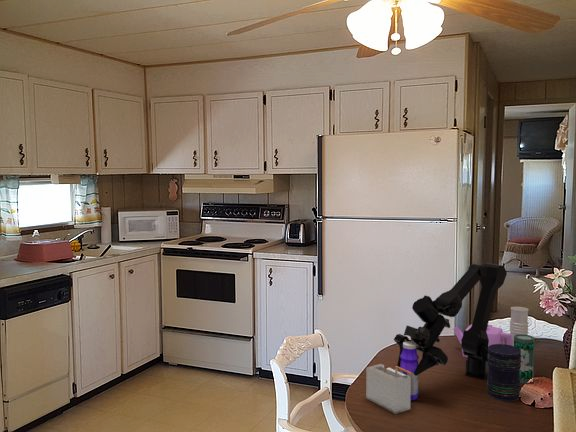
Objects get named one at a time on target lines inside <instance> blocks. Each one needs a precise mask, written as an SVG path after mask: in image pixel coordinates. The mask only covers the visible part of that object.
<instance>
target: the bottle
mask: <svg viewBox="0 0 576 432" xmlns="http://www.w3.org/2000/svg"><path fill="white" fill-rule="evenodd" d="M400 357H401V363H400V368H403V369H405V370H407V371H410V372H412V374H408V373H406V372H404V371H402V370H399V372H400V373H403V374H405V375H409V376H410V377H411V396H410V401H416V400H417V399H418V397H419V375H417V376H415V375H414V372H415V370H416V368H417V366H418V365H419V358H420V357H419V355H418V351H417V350H416V343H415V342H414V341H412V340H410V341H406V342H403V351H402V354H401V355H400Z"/></svg>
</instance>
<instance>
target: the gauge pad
mask: <svg viewBox="0 0 576 432" xmlns="http://www.w3.org/2000/svg"><path fill="white" fill-rule="evenodd" d="M398 370H399V371H398ZM400 370H402V371H404V372H406V373H408V374H412V372H410V371H407V370H405V369H403V368H400V367H398V366H397V365H396V366H395V367H394V369H393V368H392V367H387V368H385V373H387V374H389V375H392V376H394V377H396V378H398V377H401V376H404V375H405V374H403V373H400Z"/></svg>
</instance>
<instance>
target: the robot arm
mask: <svg viewBox="0 0 576 432" xmlns="http://www.w3.org/2000/svg"><path fill="white" fill-rule="evenodd" d="M507 273H508V271H507V270H506V268H505V266H504V265H503V264H495V263H491V262H485V263H484V264H476V263H472V264H470V265H469V266H468V269H467V271H465V273H464V274H463V275H462V276H461V277H460V278H459V280H458V281H457V282H456V283H455V284H454V285H453V286H452V288H450V289H449V290H447V291H445V292H442V293H441V294H440V295H439V296H437V298H435V299H434V300H432V297H430V296H429V295H426V294H425V295H423V297H421V298H418V299H417V300H416V301H414V303H412V307H411V308H412V311H413V313H415V314H416V315H417V317H418V318H419V319H420V321H422V322H423V323H424V324H423V326H419V327H418V328H416V327H413V326H410V325H406V326H405V329H404V333H403V334H401V333H399V334H396V335H395V336H394V338H393V341H394V342H395V343H396V345H398V347H399V354H398V359H397V360H398V361H397V364H396V366H398V367H400V363H401V357H400V355H401V354H402V351H403V342H406V341H411V342H415V343H416V351H417V352H420V353H422V355H421V360H420V361H419V362H418V366H417V368H416V370H415V372H414V375H415V376H417V375H418V376H419V375H421V373H423V372H425V371H427V370H428V369H431V368H432V367H434V366H439V364H440V365H441V366H446V364H447V363H448V360H449V357H448V354H446V353H445V351H444V350H443V349H442V348H440V347H437V346H434V345H435V344H436V343H438V344H439V343H440V341H441V340H440V338H439V337H440V336H441V333H442V332H443V330H444V329H445V328H446V329H450V328H451V324H450V323H451V322H450V319H448V318H447V317H450V318H455V317H456V316H457V315H458V314H459V312H460V310H462V308H463V301H464V299H465V298H466V297H467V296H468V294H469V293H470V292H471V291H472V290H473V288H474V287H475V286H476V285H477V283H478V282H479V283H480V286H481V287H480V292H479V297H478V300H477V303H476V307H475V311H474V315H473V319H472V323H471V324H472V326H471V328H470V329H469V330H468V331H466V329H465V330H463V331H462V333H463V337H462V339H461V341H462V342H461V344H460V346H461V350H462V349H463V353H464V355H467V356H468V358H466V360H465V376H469V377H473V378H477V379H485V378H486V379H487V376H488V362H487V361H488V343H489V339H488V336H487V332H486V330H487V326H488V325H489V321H490V317H491V314H492V309H493V306H494V302H495V298H496V294H497V291H498V290H499V289H500V288H501V287H502V286H503V285H504V283H505V279H506V278H507V276H508V275H507ZM445 316H446V318H445ZM409 337H410V338H409Z"/></svg>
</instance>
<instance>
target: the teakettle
mask: <svg viewBox="0 0 576 432" xmlns="http://www.w3.org/2000/svg"><path fill="white" fill-rule="evenodd" d="M471 326H472V323H471V324H469V326H467V327H466V329H465V330H466V331H468V330H469V329H470V328H471ZM452 330H453V332H454V333H455V336H456V337H457V340H458V342H459V344H460V345H461V342H462V341H461V339H462V337H463V331H462V330H461V329H460V328H459V327H453V328H452ZM486 332H487V336H488V339H489V343H488V347H489V346H490V345H493V344H506V345H511V346H513V338H512V334H510V333H506V332H504V331H503V328H501V327H496V326H493V325H492V324H488V326H487V330H486ZM505 339H506V343H505ZM461 355H462V357H463V358H466V359H468V356H467V355H464V353H463V349H462V348H461Z"/></svg>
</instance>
